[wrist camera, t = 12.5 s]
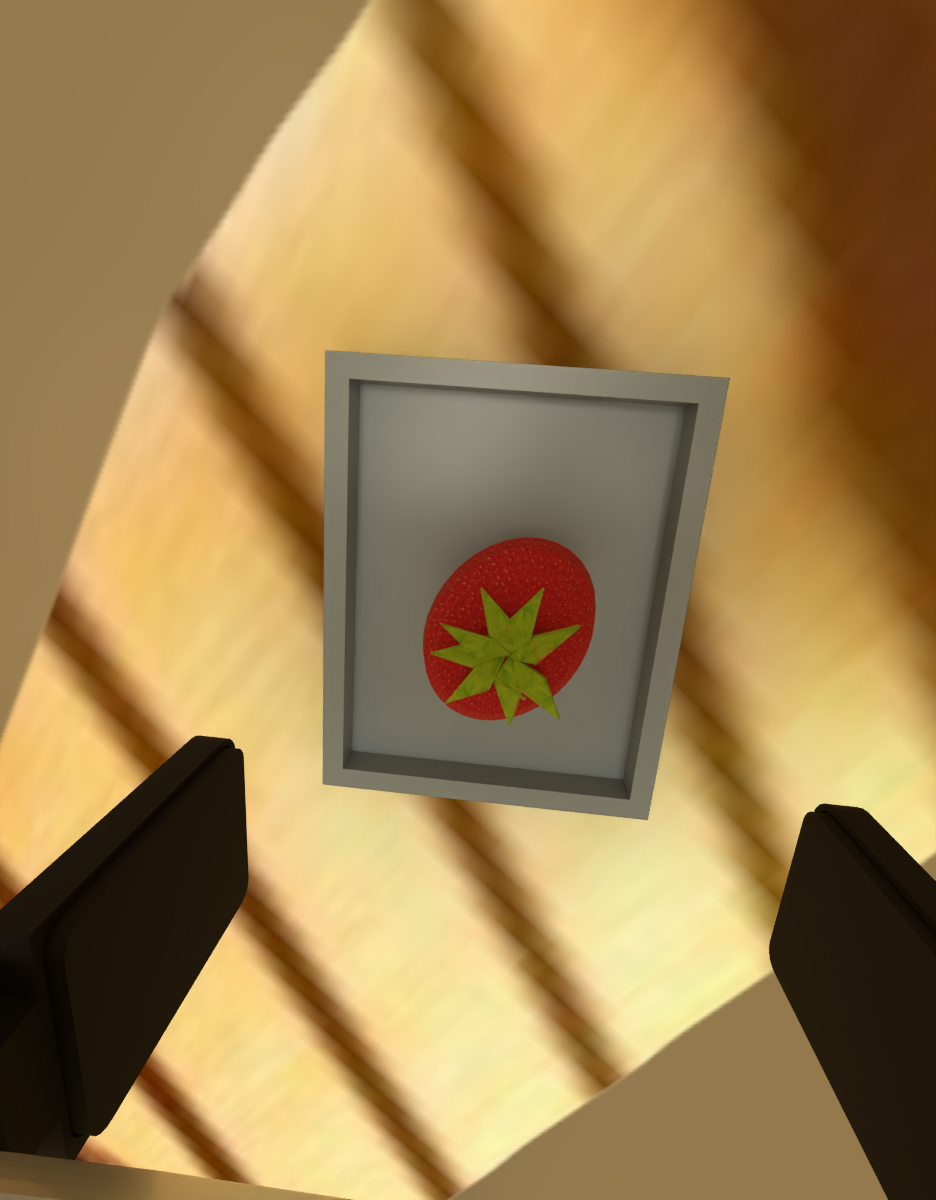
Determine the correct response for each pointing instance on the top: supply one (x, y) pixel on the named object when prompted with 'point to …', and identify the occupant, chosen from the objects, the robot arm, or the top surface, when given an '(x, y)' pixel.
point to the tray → (489, 516)
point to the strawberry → (509, 629)
